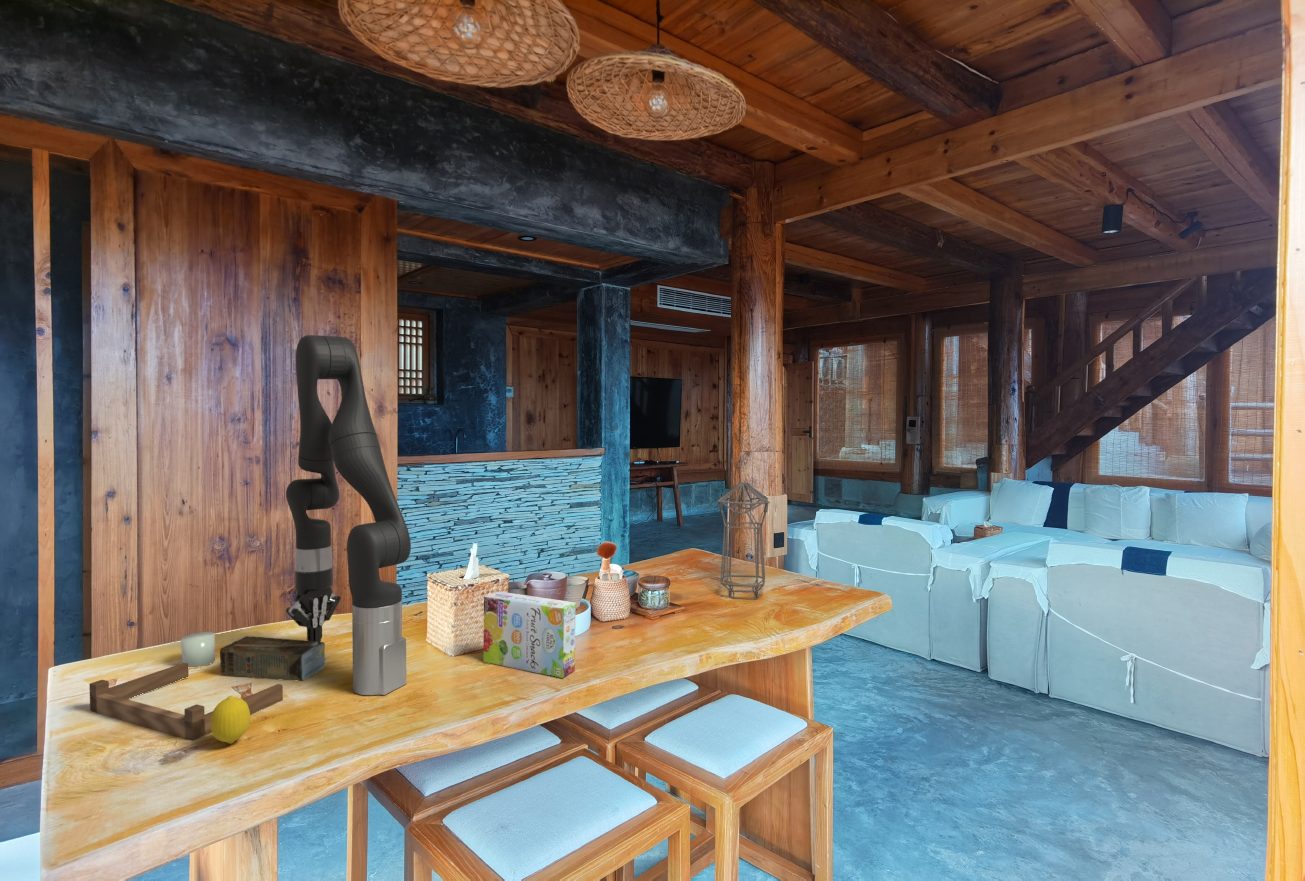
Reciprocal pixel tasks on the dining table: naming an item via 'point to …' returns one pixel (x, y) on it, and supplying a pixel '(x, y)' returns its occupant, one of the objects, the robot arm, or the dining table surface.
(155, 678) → the frame
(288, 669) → the beverage carton
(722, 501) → the geometric lantern
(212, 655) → the grey rounded cylinder
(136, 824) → the dining table surface
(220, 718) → the lemon
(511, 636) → the snack box
